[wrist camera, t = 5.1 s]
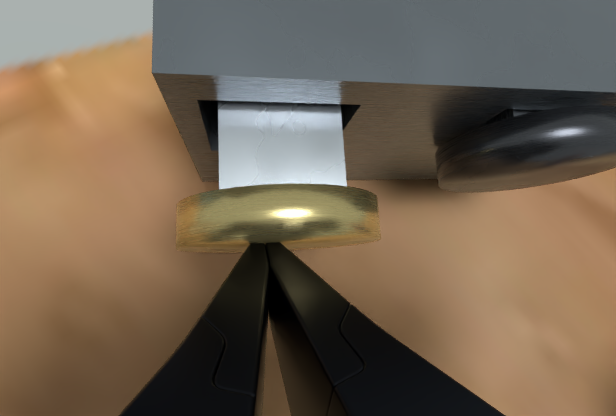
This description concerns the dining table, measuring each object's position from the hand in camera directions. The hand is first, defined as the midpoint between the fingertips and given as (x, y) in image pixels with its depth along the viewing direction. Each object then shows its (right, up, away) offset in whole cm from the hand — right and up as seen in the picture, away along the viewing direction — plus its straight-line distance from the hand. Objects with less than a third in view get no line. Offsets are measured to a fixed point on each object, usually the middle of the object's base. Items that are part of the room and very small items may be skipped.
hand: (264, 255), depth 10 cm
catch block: (+3, +5, +9) cm, 11 cm away
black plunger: (+8, +5, +6) cm, 12 cm away
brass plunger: (0, +2, +4) cm, 5 cm away
